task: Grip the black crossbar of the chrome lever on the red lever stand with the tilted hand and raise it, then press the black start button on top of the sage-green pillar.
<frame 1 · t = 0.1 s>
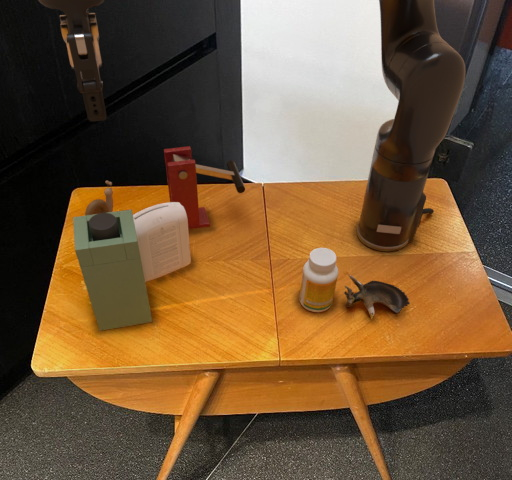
hand: (95, 102, 68), 29 cm above the table, tool pointing down, fingers open, 8 cm apart
snail figurine: (109, 250, 95), on the table
photo printer: (162, 270, 92), on the table
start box: (124, 310, 85), on the table
supplement bottle: (315, 302, 88), on the table
toy triceratops: (371, 309, 87), on the table
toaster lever: (206, 170, 92), point 10 cm above the table, hinge at -20.0°
start button: (104, 230, 73), point 16 cm above the table, slide at 0.1 cm
red lever stand: (185, 223, 99), on the table
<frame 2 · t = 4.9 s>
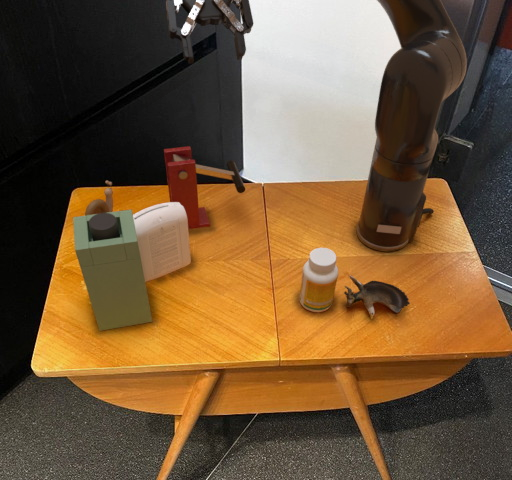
hand: (216, 60, 93), 22 cm above the table, tool tilted 45°, fingers open, 8 cm apart
nothing on the table moved.
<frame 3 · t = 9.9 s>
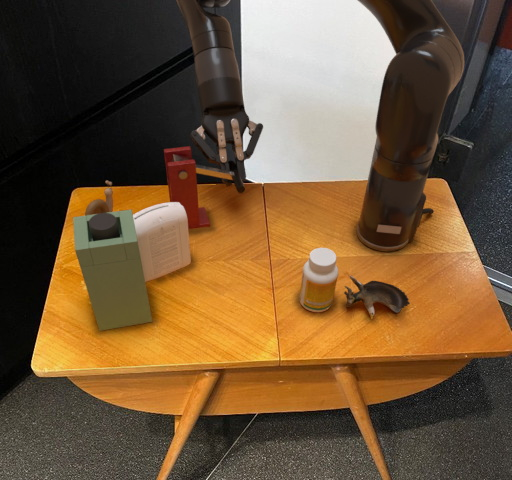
hand: (235, 184, 96), 6 cm above the table, tool tilted 45°, fingers closed
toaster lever: (206, 170, 92), point 10 cm above the table, hinge at -20.1°, touching gripper
everything else where it was.
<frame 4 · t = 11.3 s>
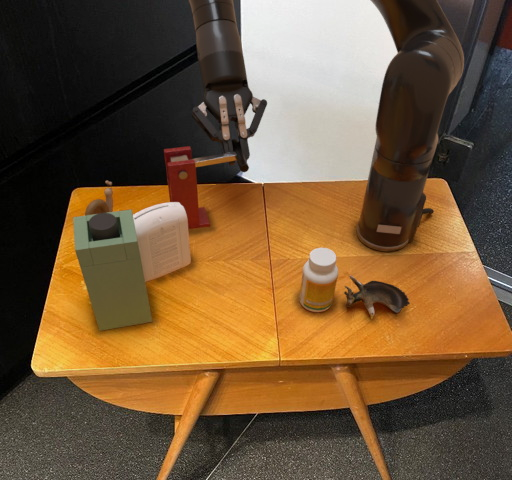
hand: (238, 163, 93), 11 cm above the table, tool tilted 45°, fingers closed
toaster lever: (207, 160, 91), point 12 cm above the table, hinge at 3.2°, touching gripper
everything else where it was.
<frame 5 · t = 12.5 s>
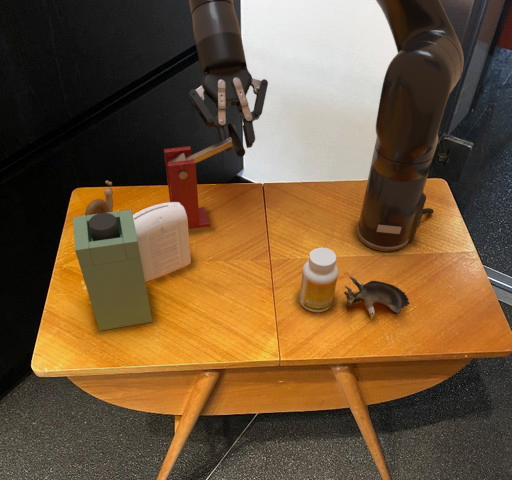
hand: (239, 147, 91), 13 cm above the table, tool tilted 45°, fingers open, 3 cm apart
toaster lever: (205, 153, 90), point 14 cm above the table, hinge at 20.3°, touching gripper
everything else where it was.
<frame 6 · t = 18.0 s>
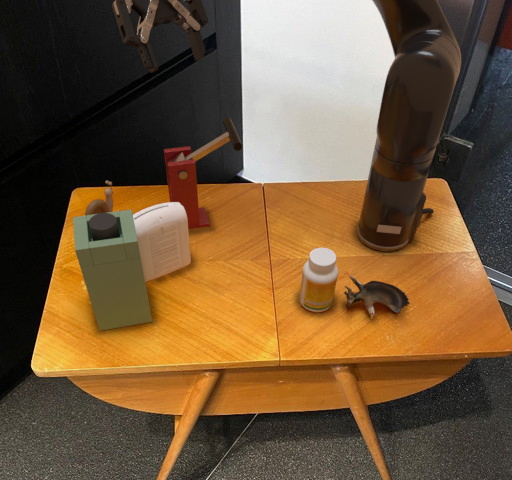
hand: (178, 65, 87), 24 cm above the table, tool tilted 35°, fingers open, 8 cm apart
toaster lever: (204, 150, 89), point 14 cm above the table, hinge at 27.2°
everything else where it was.
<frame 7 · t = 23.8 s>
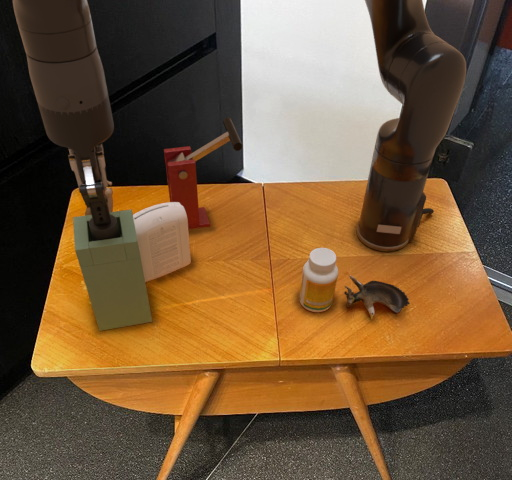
hand: (102, 221, 72), 17 cm above the table, tool pointing down, fingers closed
start button: (105, 231, 73), point 16 cm above the table, slide at 0.0 cm, touching gripper
everything else where it was.
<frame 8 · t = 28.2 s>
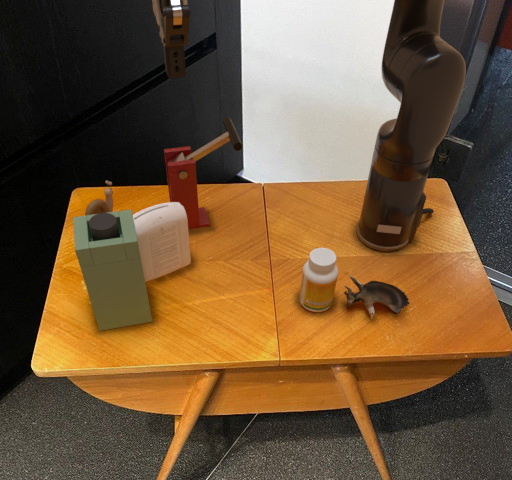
hand: (176, 75, 65), 33 cm above the table, tool pointing down, fingers closed
start button: (104, 230, 73), point 16 cm above the table, slide at 0.1 cm
everything else where it was.
at the end: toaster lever at +27° (first picture: -20°); start button pushed in 0.9 cm at the most during the clip, back to where it started at the end; start button slide at 0.1 cm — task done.
